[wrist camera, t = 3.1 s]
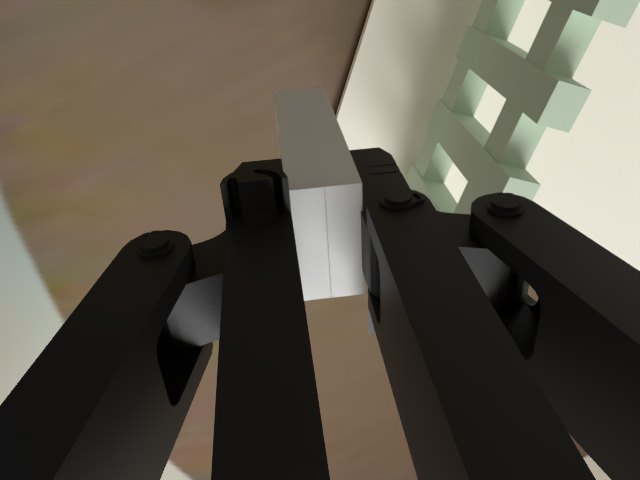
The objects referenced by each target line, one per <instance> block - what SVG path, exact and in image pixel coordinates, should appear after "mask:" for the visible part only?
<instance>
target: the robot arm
mask: <svg viewBox="0 0 640 480" xmlns="http://www.w3.org/2000/svg"><path fill="white" fill-rule="evenodd" d="M273 94H274V104H275V113H276V123H277V133H278V142H279V152H280V159H272V160H262V161H252V162H242V163H241V164H240V166H239V167H238V168H237V169H236V170H235V171H234V172H233V173H230V174H229V175H228V176H226V177H225V178H223V180H222V182H221V183H220V188H221V194H222V200H223V205H224V211H225V217H226V230H225V231H224V232H222V233H221V234H220V235H218V236H216V237H214V238H212V239H209V240H207V241H204V242H201V243H197V244H194V245H192V244H191V241H190V239H189V238H188V236H187V235H185V234H183V233H181V232H178V231H171V230H164V231H152V232H151V233H149V232H148V233H145V234H142V235H141V236H139V237H137V238H135V239H133V240H131V241H130V242H129V243H127V244H126V245H125V246H124V247H123V248H122V249H121V251H120V252H119V253H118V254H117V256H116V257H115V258H114V260H113V261H112V262H111V263H110V265H109V266H108V267H107V269H106V270H105V271H104V273H103V274H102V275H101V276H100V278H99V279H98V280H97V282H96V283H95V284H94V285H93V287H92V288H91V289H90V291H89V292H88V293H87V294H86V296H85V297H84V298H83V300H82V301H81V302H80V303H79V305H78V306H77V307H76V309H75V310H74V311H73V313H72V314H71V315H70V316H69V318H68V319H67V320H66V322H65V323H64V324H63V325H62V327H61V328H60V329H59V331H58V332H57V333H56V334H55V336H54V337H53V338H52V340H51V341H50V342H49V344H48V345H47V346H46V347H45V349H44V350H43V351H42V353H41V354H40V355H39V357H38V358H37V359H36V360H35V362H34V363H33V364H32V365H31V367H30V368H29V369H28V371H27V372H26V373H25V374H24V376H23V377H22V378H21V380H20V381H19V382H18V384H17V385H16V386H15V388H14V389H13V390H12V391H11V393H10V394H9V395H8V396H7V398H6V399H5V400H4V402H3V403H2V404H1V406H0V480H160V478H161V476H162V473H163V471H164V468H165V466H166V464H167V461H168V459H169V456H170V454H171V451H172V449H173V447H174V444H175V442H176V439H177V437H178V434H179V432H180V430H181V427H182V425H183V422H184V420H185V417H186V415H187V413H188V410H189V408H190V405H191V403H192V400H193V398H194V395H195V393H196V391H197V388H198V386H199V383H200V381H201V378H202V376H203V374H204V371H205V369H206V366H207V364H208V361H209V359H210V357H211V354H212V349H213V343H212V342H213V341H216V340H219V354H218V371H217V388H216V405H215V422H214V439H213V457H212V474H211V480H330V477H329V470H328V463H327V456H326V449H325V442H324V436H323V429H322V422H321V415H320V408H319V401H318V394H317V387H316V380H315V373H314V366H313V359H312V352H311V346H310V339H309V332H308V325H307V318H306V311H305V304H304V301H306V300H315V299H324V298H332V297H341V296H350V295H358V294H365V283H364V276H365V280H366V283H367V286H368V320H369V335H371V334H374V329H375V333H376V336H377V339H378V343H379V346H380V350H381V353H382V357H383V360H384V364H385V367H386V371H387V374H388V378H389V381H390V385H391V388H392V391H393V395H394V398H395V402H396V405H397V409H398V412H399V416H400V419H401V423H402V426H403V430H404V433H405V437H406V440H407V443H408V447H409V450H410V454H411V457H412V461H413V464H414V468H415V471H416V475H417V478H418V480H596V479H595V477H594V476H593V474H592V472H591V471H590V469H589V467H588V466H587V464H586V462H585V461H584V459H583V457H582V456H581V454H580V452H579V450H578V449H577V447H576V445H575V444H574V442H573V440H572V439H571V437H570V435H571V436H572V437H573V438H574V440H575V441H576V442H577V443H578V444H579V445H580V446H581V447H582V448H583V449H584V450H585V452H586V453H587V454H588V455H589V456H590V457H591V458H592V459H593V460H594V461H595V462H596V463H597V465H598V466H599V467H600V468H601V469H602V470H603V471H604V472H605V473H606V474H607V475H608V477H609V478H610V479H611V480H640V271H639V270H637V269H636V268H634V267H633V266H631V265H630V264H628V263H627V262H625V261H624V260H622V259H621V258H619V257H618V256H616V255H614V254H613V253H611V252H610V251H608V250H607V249H605V248H604V247H602V246H601V245H599V244H598V243H596V242H595V241H593V240H592V239H590V238H589V237H587V236H586V235H584V234H583V233H581V232H579V231H578V230H576V229H575V228H573V227H572V226H570V225H569V224H567V223H566V222H564V221H563V220H561V219H560V218H558V217H557V216H555V215H554V214H552V213H551V212H549V211H547V210H546V209H544V208H543V207H541V206H540V205H538V204H537V203H535V202H534V201H532V200H530V199H527V198H525V197H523V196H519V195H514V194H513V193H506V192H505V193H503V192H497V193H494V194H486V195H483V196H481V197H478V198H476V199H475V200H474V201H473V202H472V203H471V213H470V214H457V213H446V212H440V211H436V209H435V207H434V206H433V204H432V202H431V201H430V199H429V198H428V197H427V196H426V195H425V194H423V193H420V192H418V191H416V190H411V189H410V187H409V185H408V184H407V182H406V180H405V178H404V176H403V174H402V173H401V172H400V169H399V167H398V165H396V162H395V160H394V158H393V156H392V155H391V154H390V153H388V152H386V151H385V150H383V149H381V148H379V147H377V148H367V149H357V150H349V148H348V146H347V143H346V141H345V138H344V136H343V133H342V131H341V128H340V126H339V123H338V121H337V118H336V116H335V113H334V111H333V108H332V106H331V103H330V101H329V98H328V96H327V93H326V91H325V88H324V86H323V87H312V88H301V89H290V90H279V91H273ZM529 285H530V286H531V287H532V288H533V289H534V290H535V292H536V294H537V295H538V297H539V298H538V301H537V302H536V301H535V300H533V299H532V298H531V297H530V296H529V295H527V293H528V287H529ZM568 433H569V434H570V435H569V434H568Z"/></svg>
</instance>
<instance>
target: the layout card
mask: <svg viewBox="0 0 640 480" xmlns="http://www.w3.org/2000/svg"><path fill="white" fill-rule="evenodd" d="M482 1H483V0H372V2H371V5H370V9H369V12H368V15H367V18H366V21H365V24H364V27H363V31H362V34H361V37H360V40H359V43H358V46H357V49H356V53H355V56H354V59H353V62H352V65H351V68H350V72H349V75H348V78H347V81H346V84H345V87H344V90H343V94H342V97H341V100H340V103H339V106H338V109H337V112H336V118H337V121H338V123H339V126H340V128H341V131H342V133H343V136H344V138H345V141H346V143H347V146H348V148H349V150H357V149H367V148H377V147H379V148H381V149H383V150H385V151H386V152H388V153H390V154H391V155H392V156H393V158H394V160H395V162H396V165H398V167H399V169H400V172H401V173H402V174H403V176H404V178H405V180H406V179H407V176H408V174H409V171H410V169H411V166H412V164H416V162H417V160H418V157H419V155H420V152H421V150H422V147H423V145H424V143H425V140H426V138H427V135H428V133H429V129H428V128H427V127H428V124H429V122H430V120H431V117H432V115H433V112H434V110H435V107H436V105H437V102H438V100H439V99H443V96H444V94H445V91H446V89H447V86H448V84H449V81H450V79H451V77H452V74H453V72H454V69H455V67H456V64H457V62H458V59H457V58H456V55H457V53H458V51H459V48H460V46H461V43H462V41H463V38H464V36H465V33H466V31H467V28H468V26H469V25H471V26H472V25H473V23H474V20H475V18H476V15H477V13H478V11H479V8H480V6H481V3H482ZM551 3H552V2H551V1H548V0H525V1H524V4H523V6H522V8H521V10H520V13H519V15H518V17H517V19H516V22H515V24H514V26H513V28H512V31H511V33H510V35H509V37H508V40H507V41H509V42H510V43H512V44H514V45H516V46H517V47H519V48H521V49H522V50H524V51H526V52H527V53H528V52H529V50H530V48H531V45H532V43H533V41H534V39H535V37H536V35H537V33H538V30H539V28H540V26H541V24H542V22H543V20H544V18H545V15H546V13H547V11H548V9H549V7H550V5H551ZM572 79H573V80H575V81H577V82H578V83H580V84H582V85H584V86H585V87H587V88H589V89H590V90H592V91H591V93H590V95H589V96H588V98H587V100H586V102H585V104H584V106H583V108H582V109H581V111H580V113H579V115H578V117H577V119H576V121H575V122H574V124H573V126H572V128H571V130H570V132H569V133H567V132H564V131H560V130H557V129H553V128H549V127H547V128H546V129H545V131H544V133H543V135H542V137H541V139H540V141H539V143H538V145H537V147H536V149H535V151H534V153H533V155H532V157H531V159H530V160H529V162H528V164H527V166H526V168H525V169H526V170H527V171H528V172H529V173H530V174H531V175H532V176H533V177H534V178H535V179H536V180H537V181H538V182H539V183H540V184H541V185H540V187H539V189H538V191H537V193H536V195H535V197H534V198H533V200H532V201H534V202H535V203H537V204H538V205H540V206H541V207H543V208H544V209H546V210H547V211H549V212H551V213H552V214H554V215H555V216H557V217H558V218H560V219H561V220H563V221H564V222H566V223H567V224H569V225H570V226H572V227H573V228H575V229H576V230H578V231H579V232H581V233H583V234H584V235H586V236H587V237H589V238H590V239H592V240H593V241H595V242H596V243H598V244H599V245H601V246H602V247H604V248H605V249H607V250H608V251H610V252H611V253H613V254H614V255H616V256H618V257H619V258H621V259H622V260H624V261H625V262H627V263H628V264H630V265H631V266H633V267H634V268H636V269H637V270H639V271H640V2H639V4H638V6H637V7H636V9H635V11H634V13H633V15H632V17H631V19H630V20H629V22H628V24H627V26H626V28H623V27H620V26H618V25H615V24H612V23H609V22H606V21H603V20H602V21H601V23H600V25H599V27H598V29H597V31H596V33H595V35H594V36H593V38H592V40H591V42H590V44H589V46H588V48H587V50H586V52H585V54H584V56H583V58H582V60H581V62H580V64H579V66H578V67H577V69H576V71H575V73H574V75H573V77H572ZM505 101H506V98H504V97H503V96H502V95H501V94H500V93H498V92H497V91H496V90H495V89H493V88H492V87H491V86H490V85H489V84H488V85H487V87H486V89H485V91H484V94H483V96H482V98H481V100H480V103H479V105H478V107H477V109H476V112H475V114H474V117H475V118H476V119H477V120H478V121H479V122H480V124H481V125H482V126H483V127H484V128H485V129H486V130H487V131H488V132H489V133H491V131H492V129H493V127H494V125H495V123H496V120H497V118H498V116H499V114H500V112H501V110H502V108H503V105H504V103H505ZM467 183H468V181H467V180H466V179H465V177H464V176H463V175H462V173H461V172H460V171H459V169H458V168H457V167H456V165H455V164H454V163H453V164H452V166H451V168H450V170H449V173H448V175H447V177H446V179H445V182H444V184H445V185H446V187H447V188H448V190H449V191H450V193H451V194H452V196H453V198H454V199H455V201H456V202H457V204H458V202H459V200H460V198H461V195H462V193H463V191H464V189H465V187H466V185H467Z"/></svg>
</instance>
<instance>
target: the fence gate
mask: <svg viewBox="0 0 640 480" xmlns="http://www.w3.org/2000/svg"><path fill="white" fill-rule="evenodd" d="M524 1H525V0H483V1H482V3H481V6H480V8H479V11H478V13H477V15H476V18H475V20H474V23H473V25H472V26H471V25H469V26H468V28H467V31H466V33H465V36H464V38H463V41H462V43H461V46H460V48H459V51H458V53H457V55H456V58H457V59H458V62H457V64H456V67H455V69H454V72H453V74H452V77H451V79H450V81H449V84H448V86H447V89H446V91H445V94H444V96H443V99H439V100H438V102H437V105H436V107H435V110H434V112H433V115H432V117H431V120H430V122H429V124H428V127H427V128H428V129H429V133H428V135H427V138H426V140H425V143H424V145H423V147H422V150H421V152H420V155H419V157H418V160H417V162H416V164H412V166H411V169H410V171H409V174H408V176H407V179H406V182H407V184H408V185H409V187H410V189H411V190H416V191H418V192H420V193H423V194H425V195H426V196H427V197H428V198H429V199H430V201H431V202H432V204H433V206H434V207H435V209H436V211H440V212H446V213H457V214H470V213H471V203H472V202H473V201H474V200H475V199H476V198H478V197H481V196H483V195H486V194H494V193H497V192H503V193H505V192H506V193H513V194H514V195H519V196H523V197H525V198H527V199H530V200H533V198H534V197H535V195H536V193H537V191H538V189H539V187H540V185H541V184H540V183H539V182H538V181H537V180H536V179H535V178H534V177H533V176H532V175H531V174H530V173H529V172H528V171H527V170H526V169H525V168H526V166H527V164H528V162H529V160H530V159H531V157H532V155H533V153H534V151H535V149H536V147H537V145H538V143H539V141H540V139H541V137H542V135H543V133H544V131H545V129H546V128H547V127H549V128H553V129H557V130H560V131H564V132H567V133H569V132H570V130H571V128H572V126H573V124H574V122H575V121H576V119H577V117H578V115H579V113H580V111H581V109H582V108H583V106H584V104H585V102H586V100H587V98H588V96H589V95H590V93H591V91H592V90H590V89H589V88H587V87H585V86H584V85H582V84H580V83H578V82H577V81H575V80H573V79H572V77H573V75H574V73H575V71H576V69H577V67H578V66H579V64H580V62H581V60H582V58H583V56H584V54H585V52H586V50H587V48H588V46H589V44H590V42H591V40H592V38H593V36H594V35H595V33H596V31H597V29H598V27H599V25H600V23H601V21H602V20H603V21H606V22H609V23H612V24H615V25H618V26H620V27H623V28H626V26H627V24H628V22H629V20H630V19H631V17H632V15H633V13H634V11H635V9H636V7H637V6H638V4H639V2H640V0H548V1H551V2H552V3H551V5H550V7H549V9H548V11H547V13H546V15H545V18H544V20H543V22H542V24H541V26H540V28H539V30H538V33H537V35H536V37H535V39H534V41H533V43H532V45H531V48H530V50H529V52H528V53H527V52H526V51H524V50H522V49H521V48H519V47H517V46H516V45H514V44H512V43H510V42H509V41H507V40H508V37H509V35H510V33H511V31H512V28H513V26H514V24H515V22H516V19H517V17H518V15H519V13H520V10H521V8H522V6H523V4H524ZM488 84H489V85H490V86H491V87H492V88H493V89H495V90H496V91H497V92H498V93H500V94H501V95H502V96H503V97H504V98H506V101H505V103H504V105H503V108H502V110H501V112H500V114H499V116H498V118H497V120H496V123H495V125H494V127H493V129H492V131H491V133H489V132H488V131H487V130H486V129H485V128H484V127H483V126H482V125H481V124H480V122H479V121H478V120H477V119H476V118H475V117H474V114H475V112H476V109H477V107H478V105H479V103H480V100H481V98H482V96H483V94H484V91H485V89H486V87H487V85H488ZM453 163H454V164H455V165H456V167H457V168H458V169H459V171H460V172H461V173H462V175H463V176H464V177H465V179H466V180H467V181H468V183H467V185H466V187H465V189H464V191H463V193H462V195H461V198H460V200H459V202H458V204H457V202H456V201H455V199H454V198H453V196H452V194H451V193H450V191H449V190H448V188H447V187H446V185H445V184H444V182H445V179H446V177H447V175H448V173H449V170H450V168H451V166H452V164H453Z"/></svg>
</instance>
